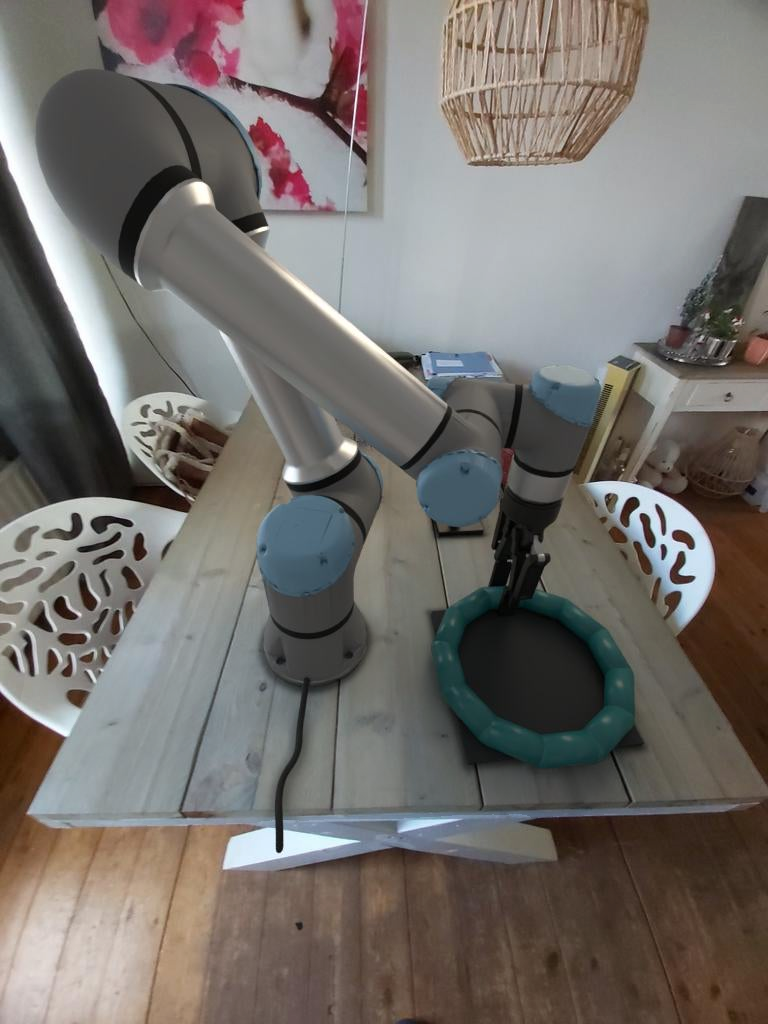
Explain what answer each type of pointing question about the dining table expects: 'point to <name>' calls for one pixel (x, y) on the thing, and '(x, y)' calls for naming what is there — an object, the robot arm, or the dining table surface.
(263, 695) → the dining table surface
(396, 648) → the dining table surface
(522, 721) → the mat
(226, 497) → the dining table surface
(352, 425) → the robot arm
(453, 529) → the stand
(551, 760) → the hoop
